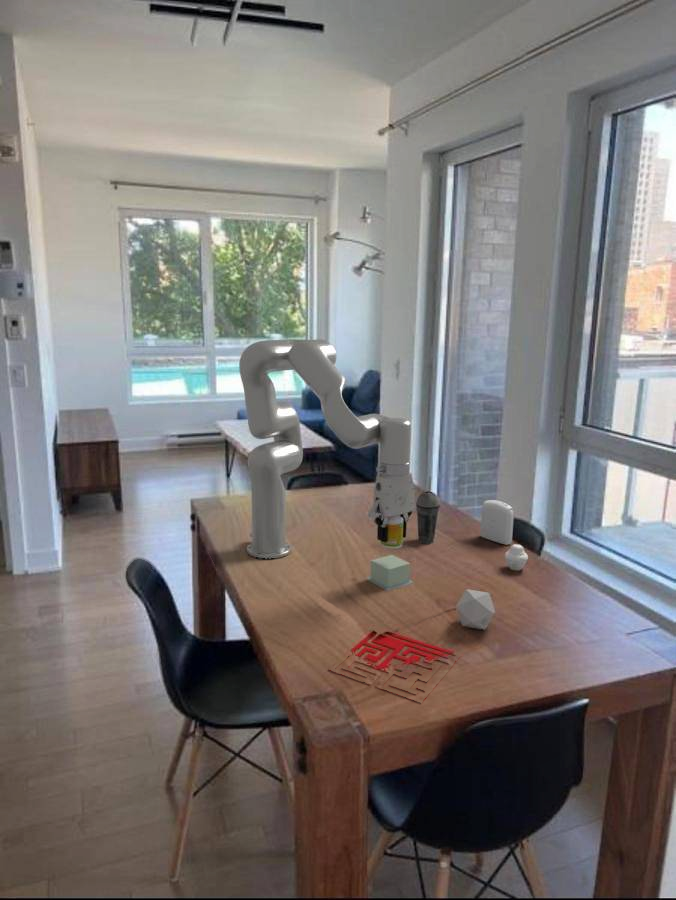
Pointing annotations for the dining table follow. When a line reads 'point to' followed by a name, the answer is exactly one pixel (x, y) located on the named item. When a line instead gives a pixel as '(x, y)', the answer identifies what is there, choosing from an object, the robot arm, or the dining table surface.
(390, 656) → the maze puzzle
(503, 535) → the photo printer
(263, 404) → the robot arm
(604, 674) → the dining table surface
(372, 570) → the base block
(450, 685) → the dining table surface
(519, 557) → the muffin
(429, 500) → the beverage cup
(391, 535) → the supplement bottle
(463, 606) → the die
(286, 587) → the dining table surface
